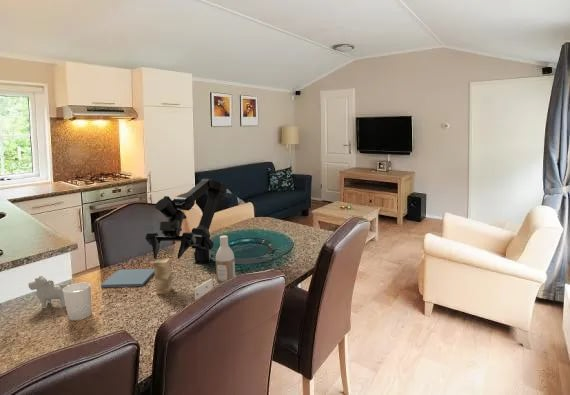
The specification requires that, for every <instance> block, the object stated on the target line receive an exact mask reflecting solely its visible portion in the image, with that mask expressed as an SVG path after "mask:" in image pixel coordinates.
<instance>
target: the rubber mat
mask: <svg viewBox="0 0 570 395" xmlns="http://www.w3.org/2000/svg"><path fill="white" fill-rule="evenodd" d="M153 275H155V272H154V268H134V269H118V270H116V272H114V273H113V274H112V275H110V277H109V278H107V279H106V280H105V281H103V282H102V284H101V285H100V287H101V288H120V287H121V288H122V287H123V288H124V287H127V288H128V287H144V286H145V285H146V283H147V282H148V281H149V280H150V279H151V277H152V276H153Z"/></svg>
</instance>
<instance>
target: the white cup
mask: <svg viewBox="0 0 570 395" xmlns="http://www.w3.org/2000/svg"><path fill="white" fill-rule="evenodd" d="M91 288H92V287H91V284H90V283H89V282H87V281H86V282H85V281H83V282H82V281H81V282H75V283H72V284H68V285H67V286H66V287H64V288H63V295H64V301H65V309H66V312H67V318H68V319H69V320H70V319H71V320H70V321H73V320H77V321H81V320H80V319H82V320H84V318H85V319H87V318H89V317H90V316H91V315H92V313H93V312H92V291H91V290H92V289H91Z"/></svg>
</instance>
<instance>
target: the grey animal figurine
mask: <svg viewBox="0 0 570 395" xmlns="http://www.w3.org/2000/svg"><path fill="white" fill-rule="evenodd" d="M54 282H55V281H54V280H52V279H50V280H47V278H46V277H44V276H43V275H39V276H38V277H36V278H34V280H33V281H29V282H28V288H29V290H31V291H35V290H36V292H35V293H36V294H35V295H36V297H37V299H38V300H40V303H41V307H40V309H41V308H44V307H47V303H50V304H52V300H59V301H60V307H64V306H65V307H66V305H65V301H64V295H63V288H64V287H66V286H68V285H67V284H64V283H60V284H58V285H56V284H55V283H54ZM65 307H64V308H65Z"/></svg>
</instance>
